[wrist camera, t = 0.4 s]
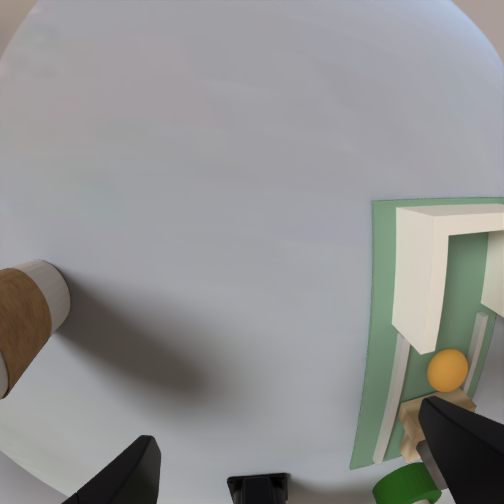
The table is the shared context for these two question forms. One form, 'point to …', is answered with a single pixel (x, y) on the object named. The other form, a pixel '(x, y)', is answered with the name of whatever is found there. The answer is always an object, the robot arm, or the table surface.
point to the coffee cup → (28, 315)
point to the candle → (407, 486)
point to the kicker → (414, 437)
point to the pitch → (426, 305)
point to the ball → (447, 370)
